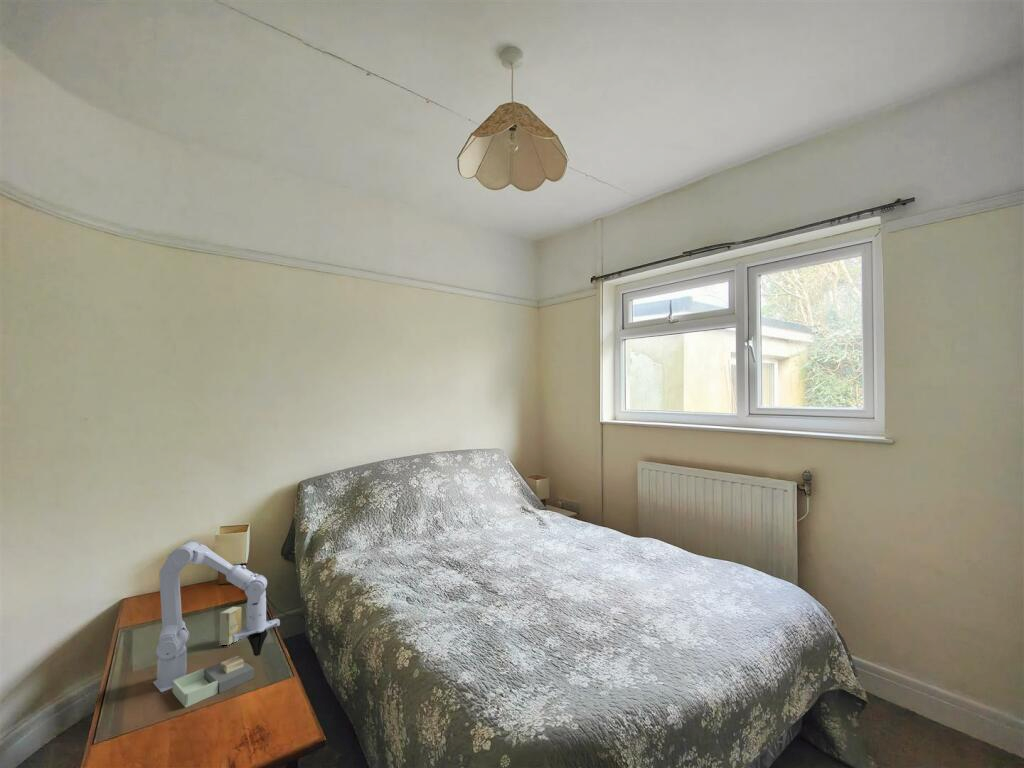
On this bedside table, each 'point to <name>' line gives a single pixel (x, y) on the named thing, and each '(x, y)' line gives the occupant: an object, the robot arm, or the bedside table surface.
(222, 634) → the skincare box
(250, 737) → the bedside table surface
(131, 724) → the bedside table surface
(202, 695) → the tray
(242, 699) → the bedside table surface
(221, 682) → the plate
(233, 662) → the birch block
